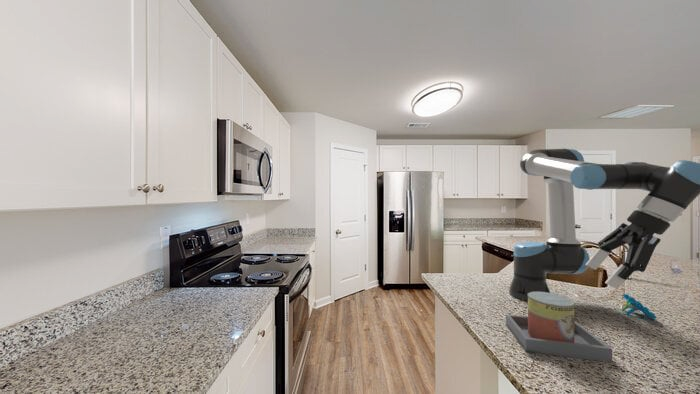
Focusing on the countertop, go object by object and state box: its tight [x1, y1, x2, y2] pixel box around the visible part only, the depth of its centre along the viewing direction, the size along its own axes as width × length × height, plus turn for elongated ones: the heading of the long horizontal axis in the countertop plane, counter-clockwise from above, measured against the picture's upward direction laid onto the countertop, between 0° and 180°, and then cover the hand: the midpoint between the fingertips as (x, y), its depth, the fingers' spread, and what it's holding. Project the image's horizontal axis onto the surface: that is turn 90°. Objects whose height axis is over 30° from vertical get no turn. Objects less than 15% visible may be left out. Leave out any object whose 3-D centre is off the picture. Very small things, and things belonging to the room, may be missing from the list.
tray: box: [505, 313, 613, 363], centre depth 79 cm, size 16×20×4 cm
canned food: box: [527, 291, 576, 343], centre depth 79 cm, size 11×11×12 cm
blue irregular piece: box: [621, 293, 657, 320], centre depth 96 cm, size 11×6×10 cm
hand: (599, 275), depth 78 cm, fingers open, 13 cm apart
